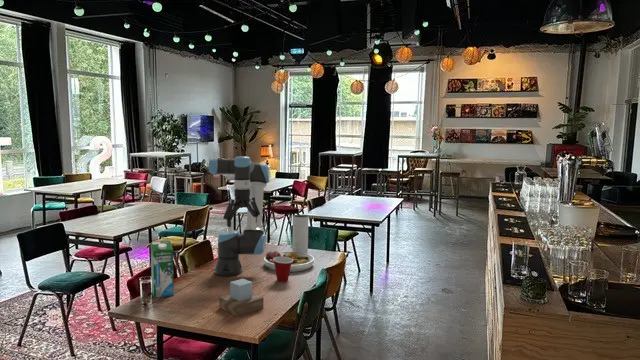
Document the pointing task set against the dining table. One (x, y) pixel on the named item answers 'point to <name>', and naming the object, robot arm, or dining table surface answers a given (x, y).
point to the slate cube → (241, 289)
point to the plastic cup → (282, 268)
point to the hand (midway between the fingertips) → (242, 231)
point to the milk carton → (162, 269)
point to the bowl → (299, 259)
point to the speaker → (300, 233)
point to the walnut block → (240, 304)
